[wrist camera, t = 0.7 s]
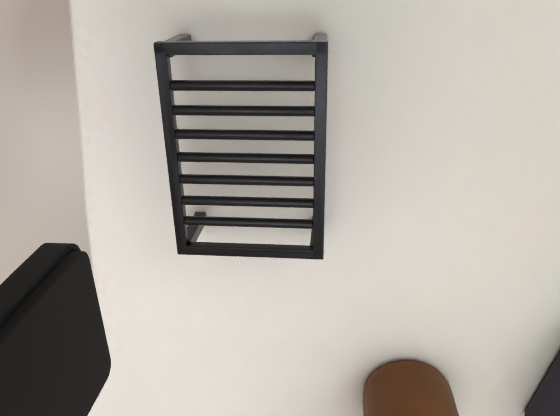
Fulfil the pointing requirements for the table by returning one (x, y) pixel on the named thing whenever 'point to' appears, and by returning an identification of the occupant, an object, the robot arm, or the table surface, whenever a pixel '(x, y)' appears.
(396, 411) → the mug
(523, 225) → the table surface
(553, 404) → the calculator
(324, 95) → the rack
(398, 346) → the table surface
